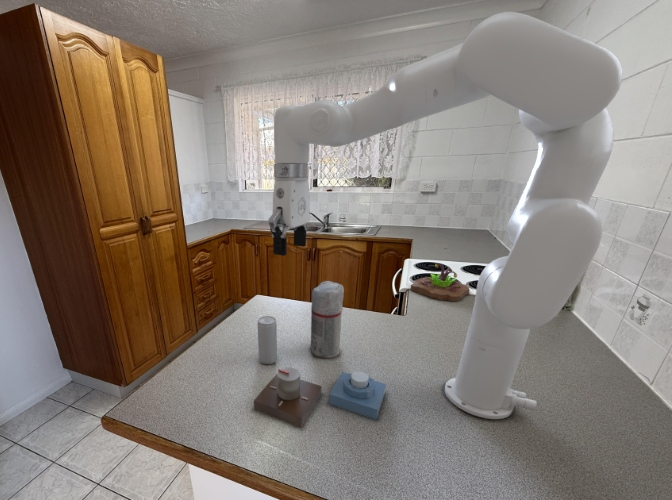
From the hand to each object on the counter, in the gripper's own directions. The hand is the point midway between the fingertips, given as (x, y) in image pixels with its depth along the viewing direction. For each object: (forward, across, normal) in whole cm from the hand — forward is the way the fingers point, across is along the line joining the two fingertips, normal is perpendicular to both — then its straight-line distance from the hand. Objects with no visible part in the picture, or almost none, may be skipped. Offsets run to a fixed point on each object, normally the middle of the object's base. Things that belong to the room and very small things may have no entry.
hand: (290, 250), depth 74 cm
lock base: (+29, -17, -9) cm, 35 cm away
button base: (+29, -8, -22) cm, 37 cm away
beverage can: (+29, -6, +3) cm, 30 cm away
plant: (+29, +71, -30) cm, 83 cm away
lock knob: (+27, -17, -9) cm, 33 cm away
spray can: (+29, +6, -8) cm, 31 cm away
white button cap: (+25, -8, -22) cm, 34 cm away
